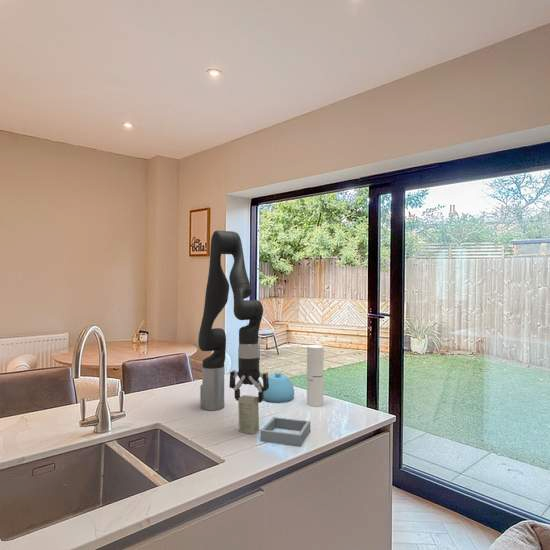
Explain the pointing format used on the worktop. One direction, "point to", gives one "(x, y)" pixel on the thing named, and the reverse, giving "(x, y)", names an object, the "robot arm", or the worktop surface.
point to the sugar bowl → (279, 388)
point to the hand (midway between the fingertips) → (249, 401)
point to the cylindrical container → (315, 375)
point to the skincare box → (248, 414)
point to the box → (283, 437)
